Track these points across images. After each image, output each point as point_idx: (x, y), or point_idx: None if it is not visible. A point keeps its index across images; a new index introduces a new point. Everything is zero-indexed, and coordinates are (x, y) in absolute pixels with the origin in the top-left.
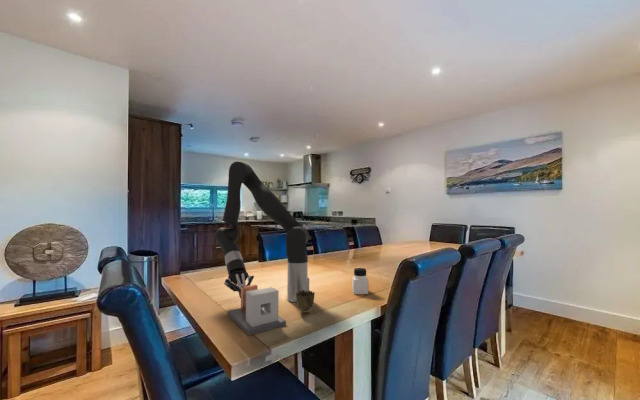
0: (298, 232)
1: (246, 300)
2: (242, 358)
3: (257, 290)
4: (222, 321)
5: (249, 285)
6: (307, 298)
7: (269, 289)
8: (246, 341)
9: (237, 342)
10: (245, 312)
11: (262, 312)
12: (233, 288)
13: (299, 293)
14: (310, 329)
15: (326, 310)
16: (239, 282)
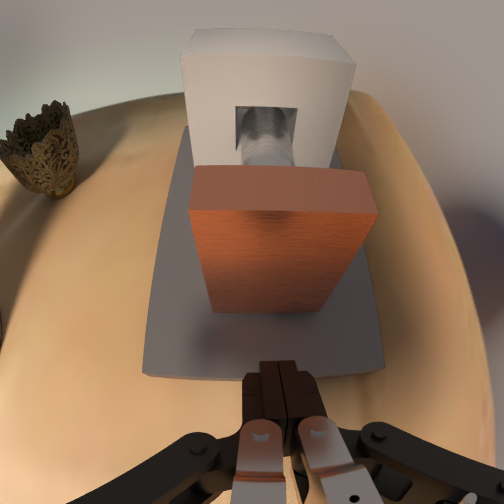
0: None
1: (344, 102)
2: (354, 92)
3: (288, 49)
4: (406, 292)
5: (274, 208)
6: (61, 111)
7: (219, 40)
8: None
9: (361, 131)
10: None
11: None
12: (380, 481)
13: (22, 159)
14: (156, 102)
15: None
16: (342, 476)
